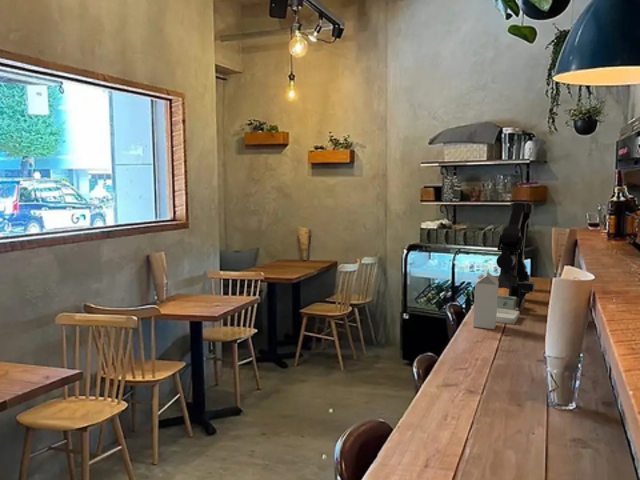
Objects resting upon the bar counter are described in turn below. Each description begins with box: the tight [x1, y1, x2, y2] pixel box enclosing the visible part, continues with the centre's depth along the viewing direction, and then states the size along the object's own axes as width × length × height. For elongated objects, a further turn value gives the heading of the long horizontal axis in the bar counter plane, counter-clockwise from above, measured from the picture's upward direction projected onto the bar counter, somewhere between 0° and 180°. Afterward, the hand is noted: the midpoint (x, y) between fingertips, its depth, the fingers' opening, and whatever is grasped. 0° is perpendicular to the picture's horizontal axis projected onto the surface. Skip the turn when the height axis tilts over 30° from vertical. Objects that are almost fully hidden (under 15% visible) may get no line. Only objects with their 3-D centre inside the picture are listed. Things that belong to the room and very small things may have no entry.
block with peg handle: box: [497, 295, 517, 311], centre depth 227 cm, size 8×6×5 cm
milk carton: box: [472, 268, 499, 330], centre depth 205 cm, size 7×7×19 cm
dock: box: [498, 295, 526, 312], centre depth 233 cm, size 7×10×3 cm, turn 63°
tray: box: [496, 308, 521, 325], centre depth 217 cm, size 12×12×2 cm
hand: (506, 306), depth 228 cm, fingers open, 9 cm apart
